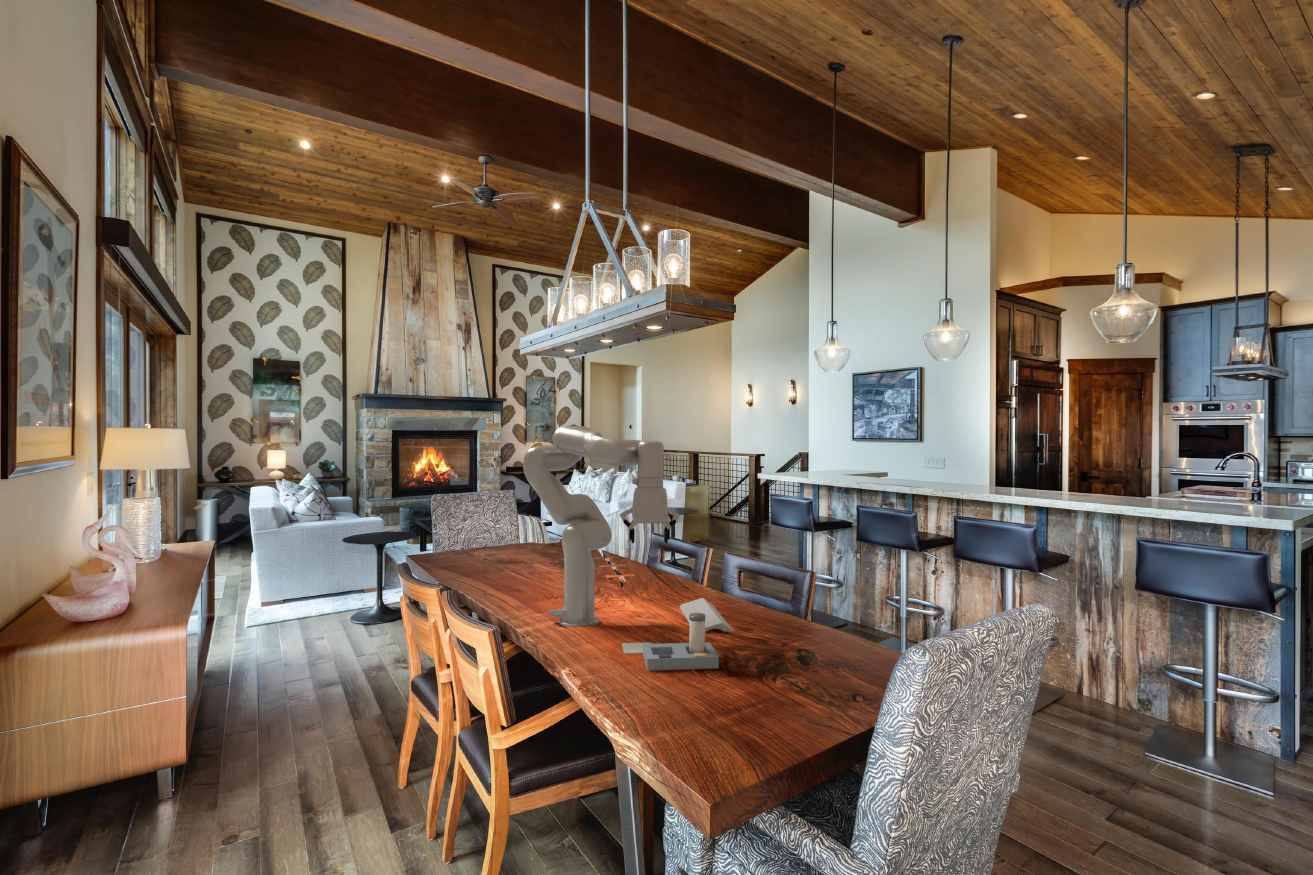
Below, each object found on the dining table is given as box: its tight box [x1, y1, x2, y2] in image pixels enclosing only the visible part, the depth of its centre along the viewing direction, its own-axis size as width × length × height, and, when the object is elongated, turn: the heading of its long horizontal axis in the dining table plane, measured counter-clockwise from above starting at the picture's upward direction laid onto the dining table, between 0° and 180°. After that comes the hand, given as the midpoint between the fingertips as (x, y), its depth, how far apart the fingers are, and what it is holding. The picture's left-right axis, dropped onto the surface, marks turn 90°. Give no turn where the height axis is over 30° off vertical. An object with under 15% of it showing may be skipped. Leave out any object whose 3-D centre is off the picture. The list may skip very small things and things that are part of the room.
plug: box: [688, 613, 706, 654], centre depth 161 cm, size 4×4×13 cm
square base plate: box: [621, 642, 652, 654], centre depth 171 cm, size 8×8×1 cm
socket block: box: [642, 641, 720, 671], centre depth 161 cm, size 18×11×4 cm, turn 97°
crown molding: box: [679, 597, 735, 633], centre depth 203 cm, size 29×12×4 cm, turn 8°
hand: (649, 542), depth 181 cm, fingers open, 9 cm apart
